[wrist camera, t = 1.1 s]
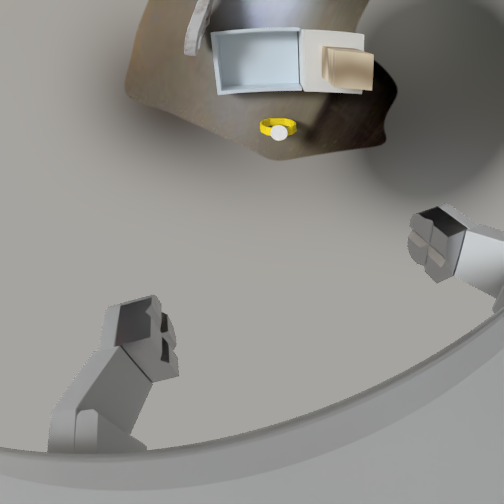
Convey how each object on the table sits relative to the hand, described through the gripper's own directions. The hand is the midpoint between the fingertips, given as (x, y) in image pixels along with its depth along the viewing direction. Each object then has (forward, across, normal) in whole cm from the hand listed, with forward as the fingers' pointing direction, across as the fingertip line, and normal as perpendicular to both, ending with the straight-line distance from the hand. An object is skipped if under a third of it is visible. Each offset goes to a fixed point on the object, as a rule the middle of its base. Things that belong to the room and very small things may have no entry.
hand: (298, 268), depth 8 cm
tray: (+43, -11, -7) cm, 45 cm away
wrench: (+42, -8, -23) cm, 48 cm away
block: (+34, -21, -4) cm, 40 cm away
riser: (+40, -22, -5) cm, 46 cm away
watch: (+44, -13, +5) cm, 46 cm away
